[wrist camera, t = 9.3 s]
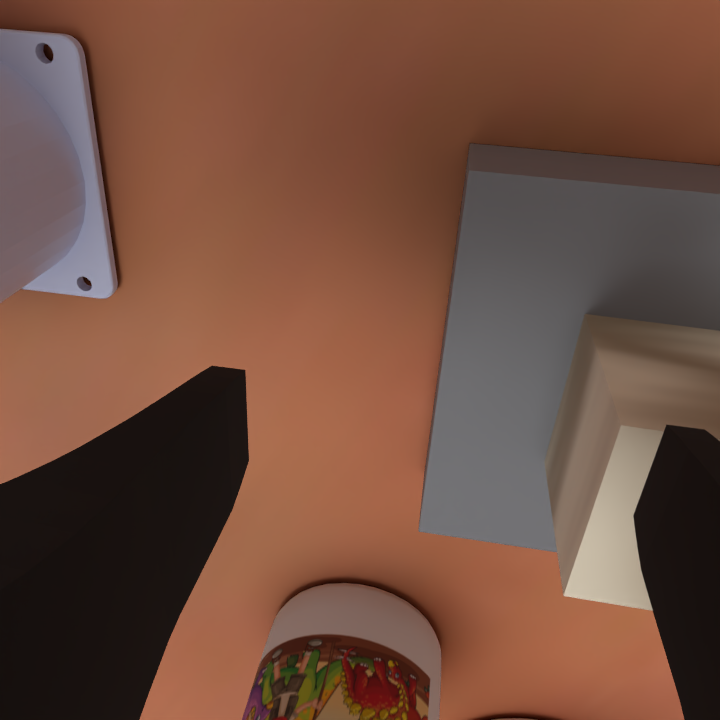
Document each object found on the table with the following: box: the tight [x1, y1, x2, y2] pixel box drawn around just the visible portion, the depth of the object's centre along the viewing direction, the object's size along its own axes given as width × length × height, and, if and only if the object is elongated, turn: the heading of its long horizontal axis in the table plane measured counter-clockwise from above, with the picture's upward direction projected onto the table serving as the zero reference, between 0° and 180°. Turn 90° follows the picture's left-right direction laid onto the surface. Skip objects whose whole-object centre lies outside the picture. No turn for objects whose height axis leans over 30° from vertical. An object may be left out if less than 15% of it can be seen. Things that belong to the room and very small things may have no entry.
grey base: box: [419, 143, 720, 552], centre depth 20 cm, size 12×12×3 cm
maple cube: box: [544, 314, 720, 611], centre depth 16 cm, size 5×5×5 cm
